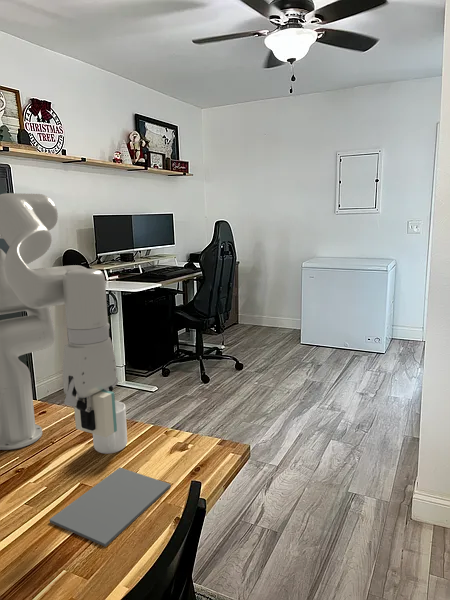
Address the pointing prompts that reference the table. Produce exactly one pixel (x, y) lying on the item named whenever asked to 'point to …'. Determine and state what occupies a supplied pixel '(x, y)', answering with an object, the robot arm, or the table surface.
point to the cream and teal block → (100, 414)
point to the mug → (116, 439)
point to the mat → (110, 506)
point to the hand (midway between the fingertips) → (95, 423)
